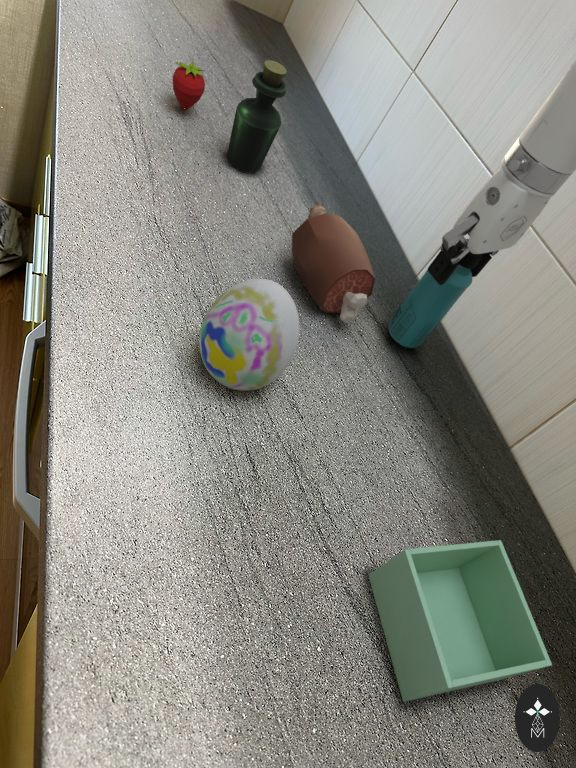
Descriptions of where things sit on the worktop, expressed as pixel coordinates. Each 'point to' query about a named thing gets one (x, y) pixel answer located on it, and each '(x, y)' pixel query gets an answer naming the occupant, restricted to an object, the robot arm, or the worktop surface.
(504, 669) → the bin
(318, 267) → the meat
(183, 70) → the strawberry
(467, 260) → the beverage bottle
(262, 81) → the potion bottle
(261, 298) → the decorative egg
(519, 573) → the worktop surface
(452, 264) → the robot arm
